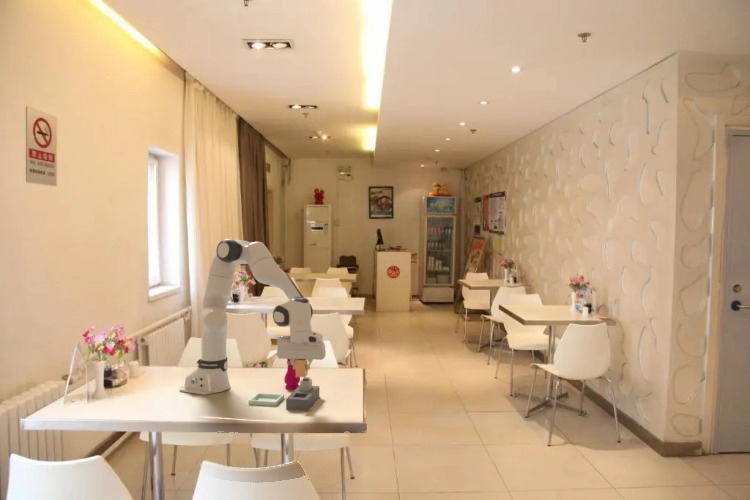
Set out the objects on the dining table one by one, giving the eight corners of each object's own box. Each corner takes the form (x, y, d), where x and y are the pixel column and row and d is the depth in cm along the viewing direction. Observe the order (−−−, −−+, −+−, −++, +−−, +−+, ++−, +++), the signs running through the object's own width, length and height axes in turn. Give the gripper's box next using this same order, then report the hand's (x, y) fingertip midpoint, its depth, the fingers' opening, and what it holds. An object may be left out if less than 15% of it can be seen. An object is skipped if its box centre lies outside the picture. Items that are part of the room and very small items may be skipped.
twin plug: (300, 397, 214) (300, 379, 214) (303, 394, 218) (303, 376, 218) (309, 397, 213) (309, 379, 213) (311, 394, 217) (311, 377, 217)
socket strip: (286, 410, 204) (286, 398, 204) (299, 396, 221) (299, 385, 221) (307, 412, 202) (307, 400, 202) (319, 397, 220) (319, 386, 220)
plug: (295, 376, 206) (295, 358, 206) (298, 373, 210) (298, 355, 210) (305, 377, 206) (304, 358, 205) (307, 374, 210) (307, 355, 209)
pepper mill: (296, 392, 227) (296, 348, 226) (281, 391, 229) (281, 347, 228) (302, 387, 234) (302, 345, 233) (287, 386, 236) (287, 344, 235)
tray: (248, 405, 209) (248, 400, 209) (257, 397, 219) (257, 392, 219) (275, 407, 208) (275, 402, 207) (284, 399, 217) (284, 394, 217)
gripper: (274, 337, 205) (275, 370, 206) (322, 338, 202) (323, 372, 203) (279, 334, 212) (280, 366, 212) (326, 335, 209) (327, 367, 209)
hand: (301, 369), depth 208 cm, fingers closed on plug, 4 cm apart
